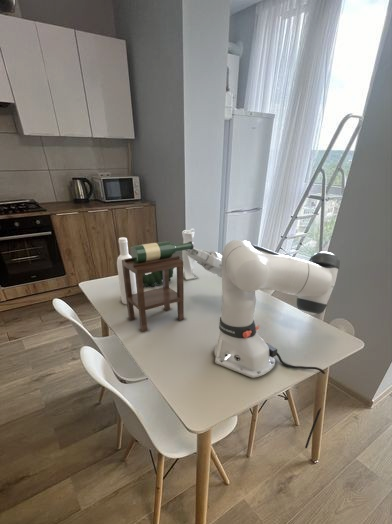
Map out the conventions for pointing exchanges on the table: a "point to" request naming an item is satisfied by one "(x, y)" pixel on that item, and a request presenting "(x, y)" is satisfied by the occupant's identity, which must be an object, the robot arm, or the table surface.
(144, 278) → the toy figurine
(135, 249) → the bottle
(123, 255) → the bottle
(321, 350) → the table surface
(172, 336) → the table surface
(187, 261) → the skyscraper
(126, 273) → the stand
